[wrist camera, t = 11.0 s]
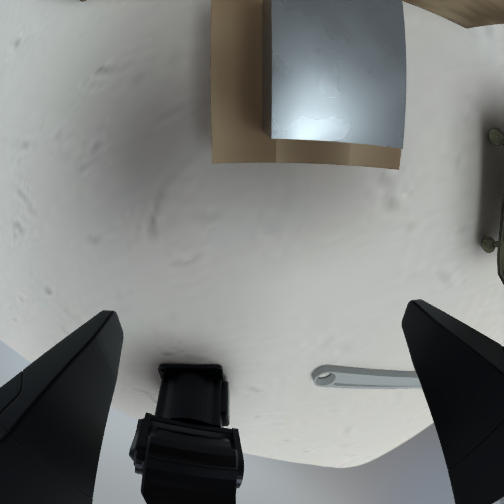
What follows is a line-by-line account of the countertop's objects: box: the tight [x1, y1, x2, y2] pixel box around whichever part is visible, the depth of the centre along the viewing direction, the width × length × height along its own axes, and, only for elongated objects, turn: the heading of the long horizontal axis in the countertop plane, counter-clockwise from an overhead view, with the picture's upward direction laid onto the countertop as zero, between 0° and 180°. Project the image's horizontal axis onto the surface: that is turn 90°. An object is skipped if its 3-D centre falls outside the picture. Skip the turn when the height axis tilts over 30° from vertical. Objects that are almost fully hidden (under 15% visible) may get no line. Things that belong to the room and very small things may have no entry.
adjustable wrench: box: [312, 365, 422, 389], centre depth 30 cm, size 25×6×2 cm, turn 68°
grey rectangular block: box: [262, 0, 406, 149], centre depth 12 cm, size 5×7×8 cm
